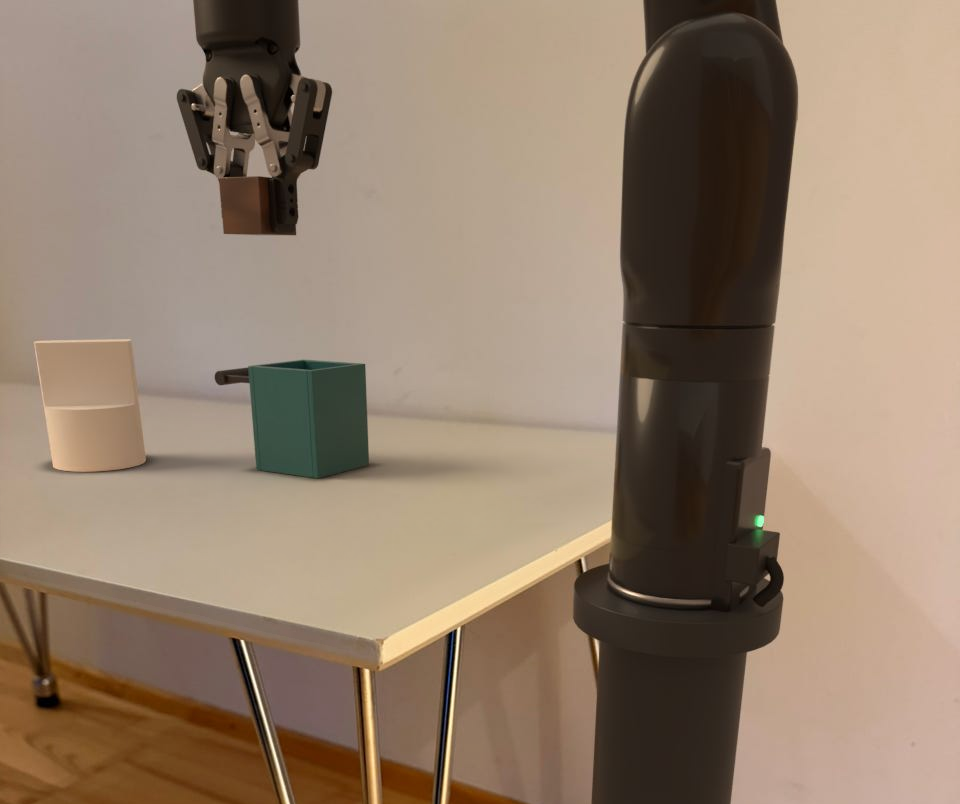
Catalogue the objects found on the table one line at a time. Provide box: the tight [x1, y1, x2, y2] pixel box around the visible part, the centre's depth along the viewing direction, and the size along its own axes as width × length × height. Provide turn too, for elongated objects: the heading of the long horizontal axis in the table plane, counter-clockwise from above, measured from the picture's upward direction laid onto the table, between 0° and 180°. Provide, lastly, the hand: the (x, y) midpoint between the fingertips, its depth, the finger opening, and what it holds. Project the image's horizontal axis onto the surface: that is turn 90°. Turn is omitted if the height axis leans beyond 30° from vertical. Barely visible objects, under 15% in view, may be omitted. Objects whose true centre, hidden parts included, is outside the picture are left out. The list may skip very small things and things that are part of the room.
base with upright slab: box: [33, 338, 147, 473], centre depth 99 cm, size 9×9×12 cm
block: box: [219, 175, 297, 236], centre depth 77 cm, size 4×4×4 cm
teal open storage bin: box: [214, 359, 370, 479], centre depth 98 cm, size 10×8×14 cm
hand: (260, 230), depth 77 cm, fingers closed on block, 4 cm apart
